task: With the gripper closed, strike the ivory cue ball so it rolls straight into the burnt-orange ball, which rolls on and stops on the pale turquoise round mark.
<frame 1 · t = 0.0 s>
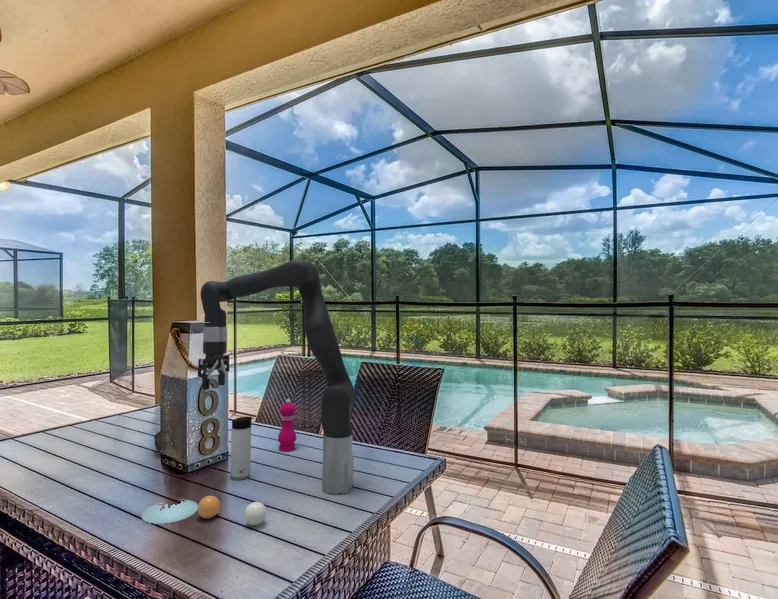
hand: (213, 387, 150), 29 cm above the table, tool pointing down, fingers open, 8 cm apart
cue ball: (255, 513, 116), on the table
travel mug: (240, 477, 147), on the table
object ball: (208, 506, 119), on the table
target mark: (170, 511, 122), on the table
pepper mill: (286, 449, 176), on the table
pine cone: (169, 454, 168), on the table
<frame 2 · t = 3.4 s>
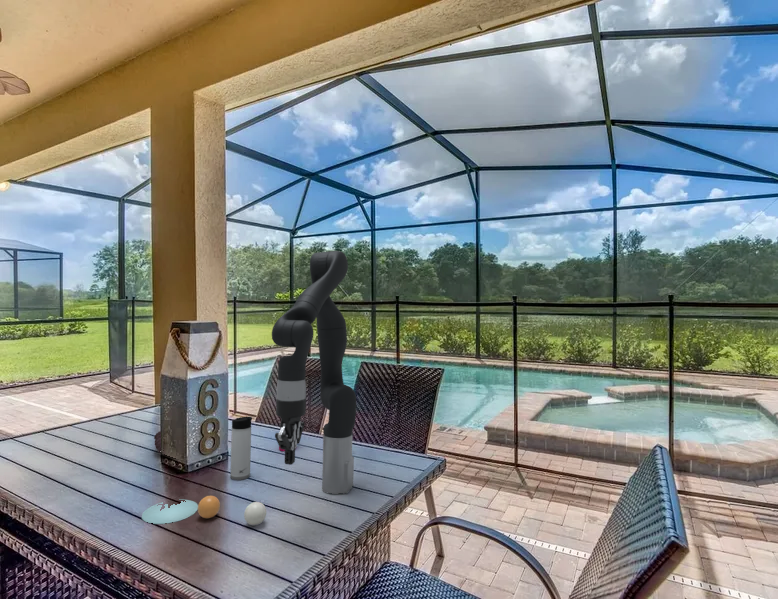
hand: (289, 463, 114), 17 cm above the table, tool pointing down, fingers closed
nothing on the table moved.
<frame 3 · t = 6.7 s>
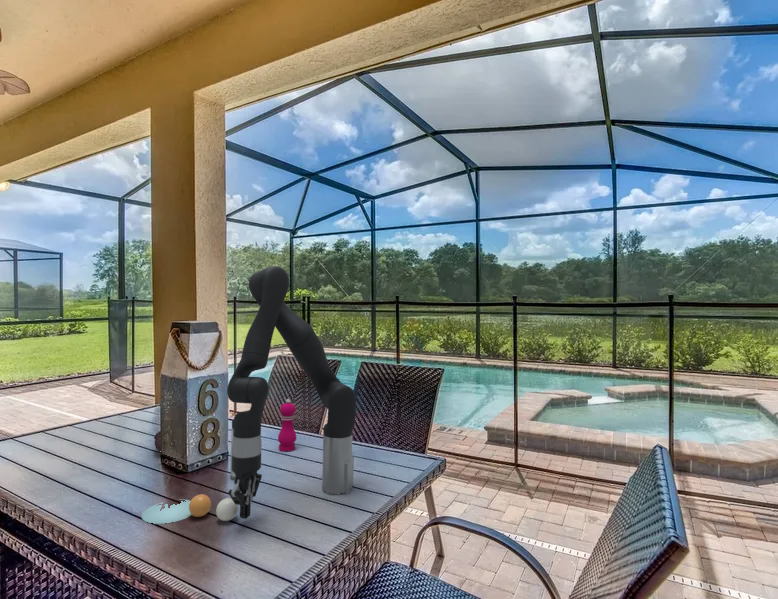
hand: (245, 516, 117), 2 cm above the table, tool pointing down, fingers closed
cue ball: (227, 509, 118), on the table
object ball: (200, 505, 120), on the table
everything else where it was.
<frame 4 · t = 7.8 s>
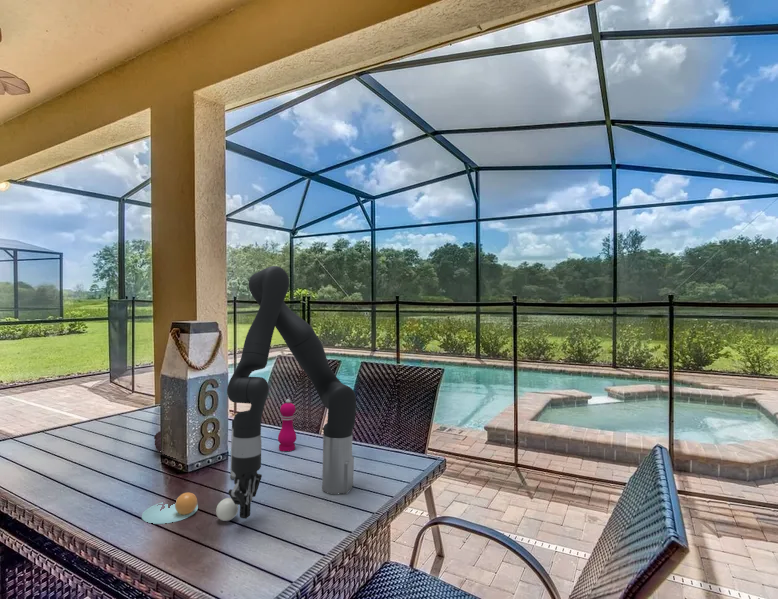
hand: (245, 516, 117), 2 cm above the table, tool pointing down, fingers closed
object ball: (186, 503, 121), on the table
everything else where it was.
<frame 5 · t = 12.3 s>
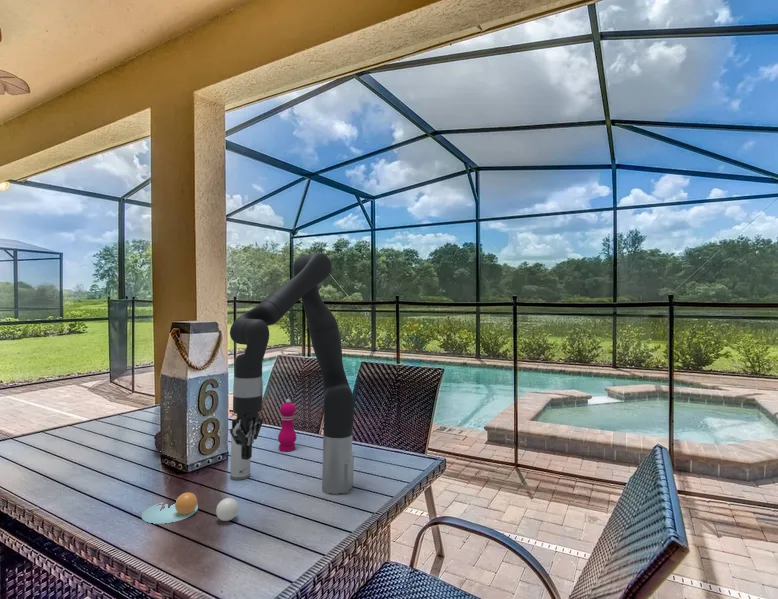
hand: (246, 458, 117), 17 cm above the table, tool pointing down, fingers closed
nothing on the table moved.
at the end: object ball 4.9 cm from the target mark (horizontally); object ball never touched the robot; cue ball first touched object ball at 6.4 s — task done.
